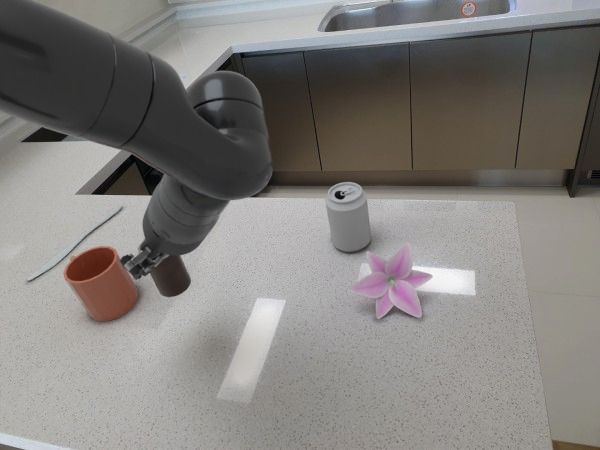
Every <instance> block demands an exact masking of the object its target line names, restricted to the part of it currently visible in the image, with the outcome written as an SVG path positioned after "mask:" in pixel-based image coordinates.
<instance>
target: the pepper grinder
mask: <svg viewBox="0 0 600 450" xmlns="http://www.w3.org/2000/svg"><path fill="white" fill-rule="evenodd" d="M149 274H150V276H151V279H152V281H153V282H154V284H155V286H156V288H157V290H158V292H159V294H160V295H161V296H162V297H165V298H174V297H177V296H180V295H181V294H183V293H185V292H186V291H187V290H188V289H189V287H190V286H191V284H192V278H191V276H190V274H189V271H188V269H187V268H186V265H185V263H184V261H183V258H182V255H170V256H168V257H167V258H166V259H165V260H164V261H163V262H162V263H160V264H159V265H158V266H156V267H153V268H152V270H151V271H150V273H149Z"/></svg>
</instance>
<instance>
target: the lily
mask: <svg viewBox="0 0 600 450" xmlns="http://www.w3.org/2000/svg"><path fill="white" fill-rule="evenodd" d="M365 256H366V259H367V263H368V267H369V269H370V271H371V273H369V274H367V275H366V276H364V277H362V278H361V279H359V280H357V281H356V282H354V283H353V284H352V285H350V286H349V288H348V291H349V292H350V293H352V294H353V295H354V294H355V295H358V296H361V297H365V298H370V299H375V316H376V319H377V320H380V319H381V318H383V317H384V316H385V315H386V314H387V313H389V312H390V310H392V308H393V307H394V306H395V307H396V308H398V310H401V311H403V312H404V313H407V314H408V315H410V316H412V317H415V318H419V319H420V318H422V317H423V309H422V305H421V302H420V298H419V296H418V293H417V291H416V289H417V288H419V287H422V286H423V285H425V284H426V283H427V282H429V281H431V280H432V279H433V277H434V276H433V274H431V273H428V272H424V271H421V270H415V269H413V259H414V258H413V246H412V243H411V242H410V241H406V242H405V243H403V244H402V245H401V246H400V247H398V249H397V250H396V251H395V252H394V253H393V254H392V255H391V256H390V257H388V259H385V258H384V257H382V256H380V255H379V254H376V253H374V252H373V251H370V250H366V252H365Z"/></svg>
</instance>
